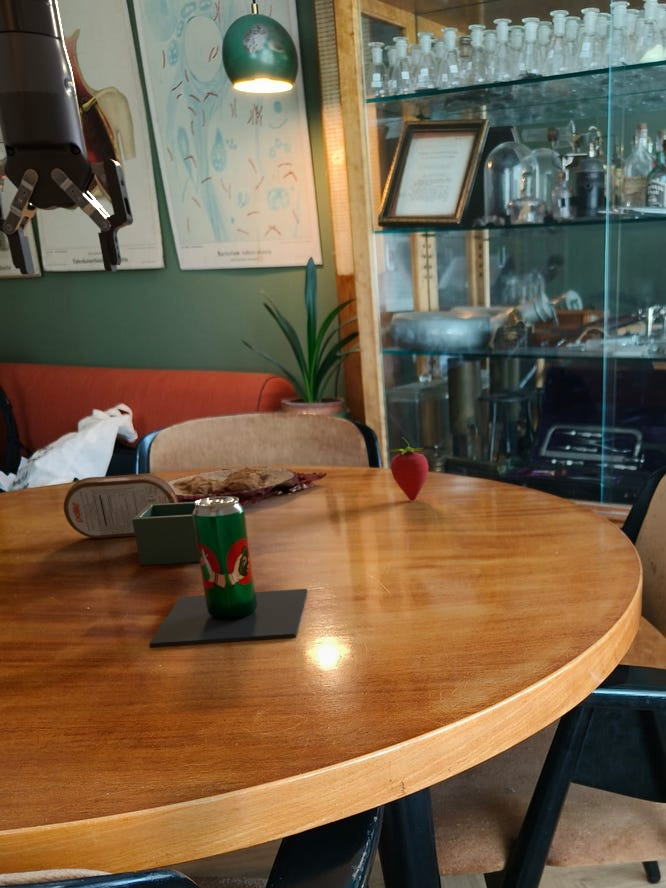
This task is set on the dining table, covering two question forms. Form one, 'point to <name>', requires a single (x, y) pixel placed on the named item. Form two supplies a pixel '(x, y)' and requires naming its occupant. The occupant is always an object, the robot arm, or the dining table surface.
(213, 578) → the soda can
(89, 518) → the tin
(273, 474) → the plate with food
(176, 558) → the box
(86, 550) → the dining table surface
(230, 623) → the mat
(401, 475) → the strawberry
